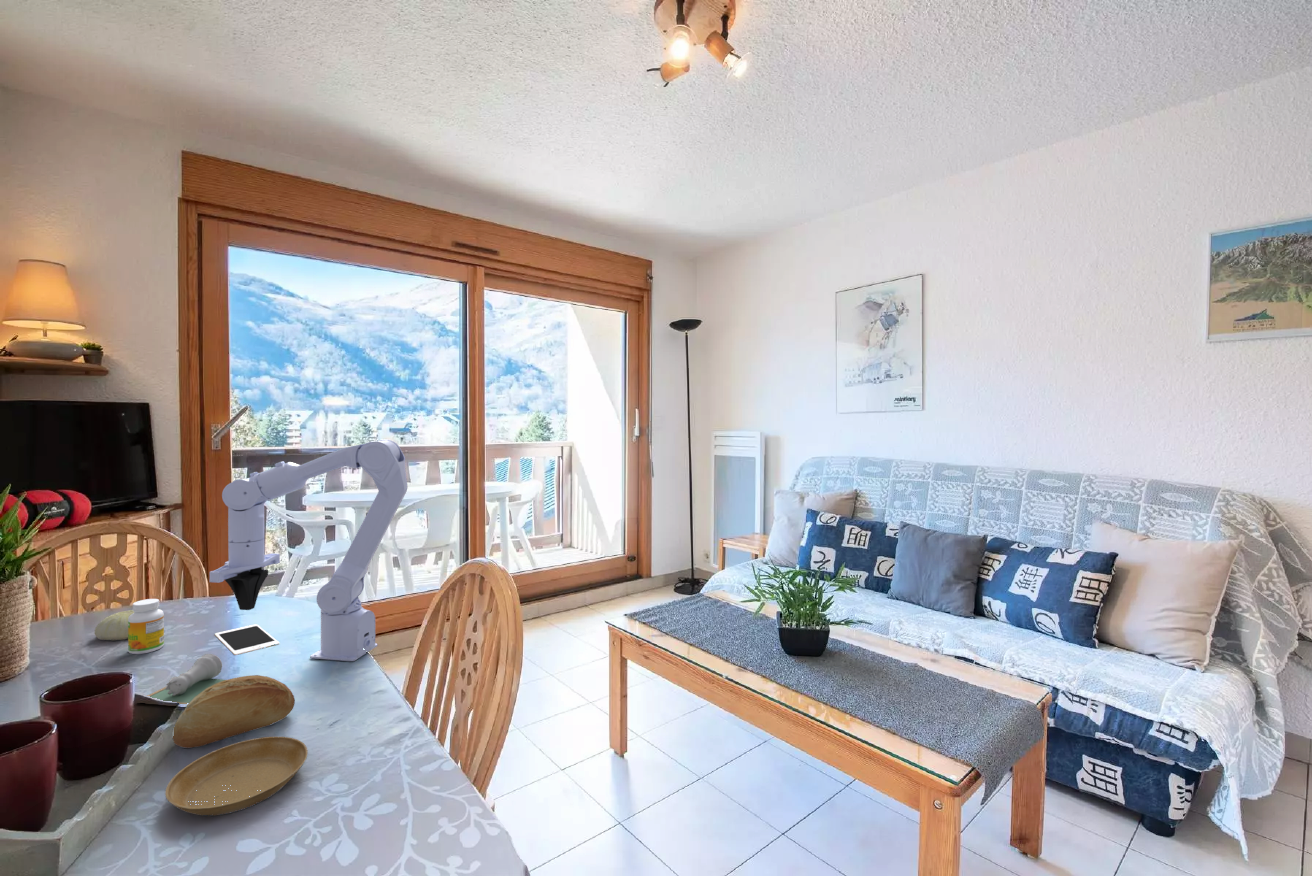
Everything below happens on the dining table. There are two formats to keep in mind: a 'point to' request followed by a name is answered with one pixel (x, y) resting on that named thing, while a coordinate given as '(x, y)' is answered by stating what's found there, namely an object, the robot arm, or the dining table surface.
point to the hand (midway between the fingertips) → (247, 608)
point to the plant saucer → (236, 775)
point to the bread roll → (232, 710)
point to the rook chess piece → (195, 674)
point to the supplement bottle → (145, 627)
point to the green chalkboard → (189, 693)
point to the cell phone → (246, 639)
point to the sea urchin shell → (114, 626)
